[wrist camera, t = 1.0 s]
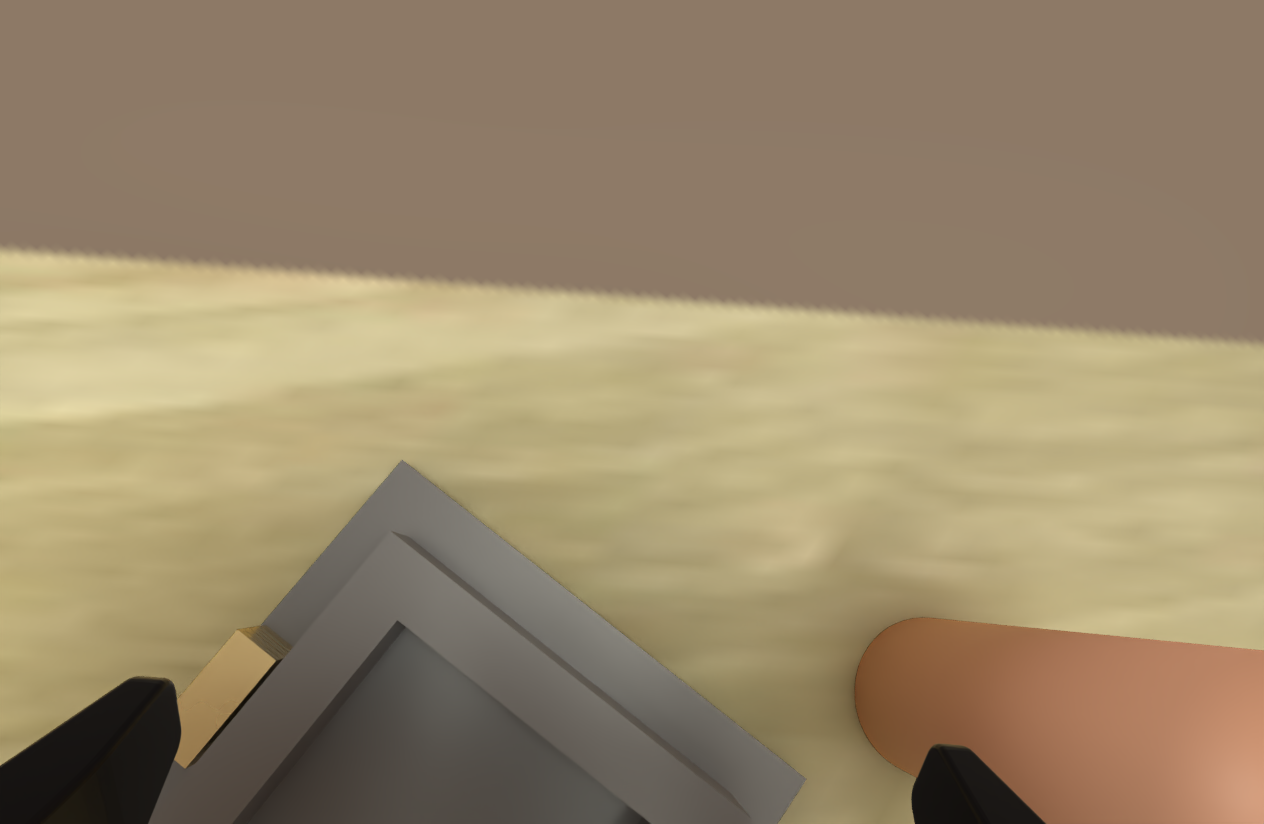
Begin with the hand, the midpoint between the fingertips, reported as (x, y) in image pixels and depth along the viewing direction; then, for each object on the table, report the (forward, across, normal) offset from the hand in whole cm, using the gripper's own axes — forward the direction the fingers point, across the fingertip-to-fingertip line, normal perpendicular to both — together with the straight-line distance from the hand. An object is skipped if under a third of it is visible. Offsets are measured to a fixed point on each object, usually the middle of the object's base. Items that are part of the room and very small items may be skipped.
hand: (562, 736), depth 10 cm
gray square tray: (+8, +3, +12) cm, 15 cm away
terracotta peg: (+10, -11, +9) cm, 18 cm away
